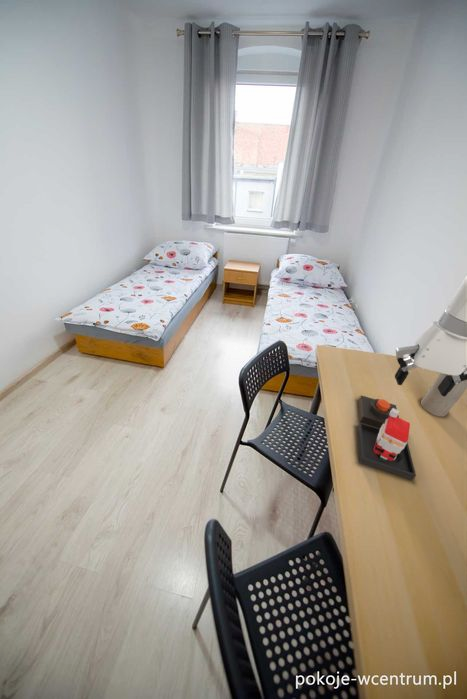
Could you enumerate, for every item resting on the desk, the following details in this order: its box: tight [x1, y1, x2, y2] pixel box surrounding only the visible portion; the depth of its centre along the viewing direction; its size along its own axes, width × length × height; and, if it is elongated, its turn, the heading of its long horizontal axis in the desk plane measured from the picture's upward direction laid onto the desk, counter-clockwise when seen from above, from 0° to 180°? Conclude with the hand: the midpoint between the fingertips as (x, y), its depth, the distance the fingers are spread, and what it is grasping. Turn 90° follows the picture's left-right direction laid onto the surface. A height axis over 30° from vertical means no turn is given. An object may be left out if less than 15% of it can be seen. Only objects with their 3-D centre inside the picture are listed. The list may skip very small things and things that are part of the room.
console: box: [357, 395, 400, 428], centre depth 87 cm, size 11×10×4 cm
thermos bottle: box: [420, 368, 467, 417], centre depth 87 cm, size 8×8×28 cm
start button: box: [376, 399, 391, 412], centre depth 86 cm, size 4×4×2 cm
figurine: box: [373, 408, 411, 462], centre depth 73 cm, size 8×7×12 cm
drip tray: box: [356, 422, 417, 481], centre depth 77 cm, size 13×13×2 cm
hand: (419, 386), depth 66 cm, fingers open, 9 cm apart
